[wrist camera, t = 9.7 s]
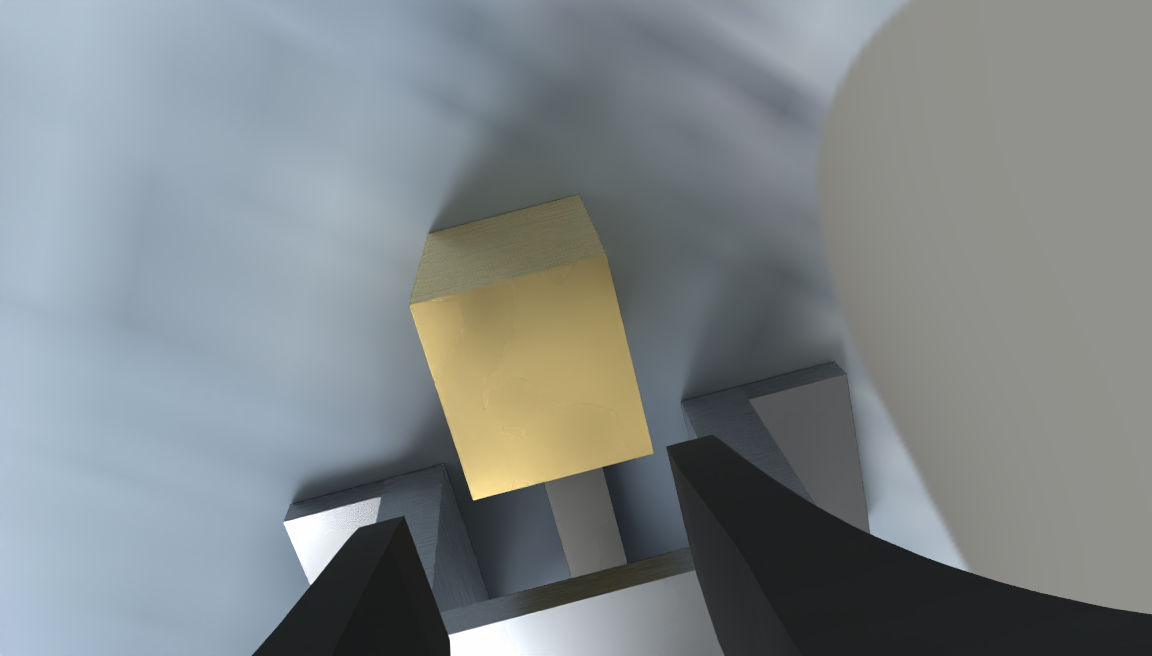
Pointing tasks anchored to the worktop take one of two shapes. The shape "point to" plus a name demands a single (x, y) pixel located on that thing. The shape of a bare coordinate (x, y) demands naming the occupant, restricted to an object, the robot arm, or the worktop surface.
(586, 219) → the plug
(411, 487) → the housing
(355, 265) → the worktop surface
